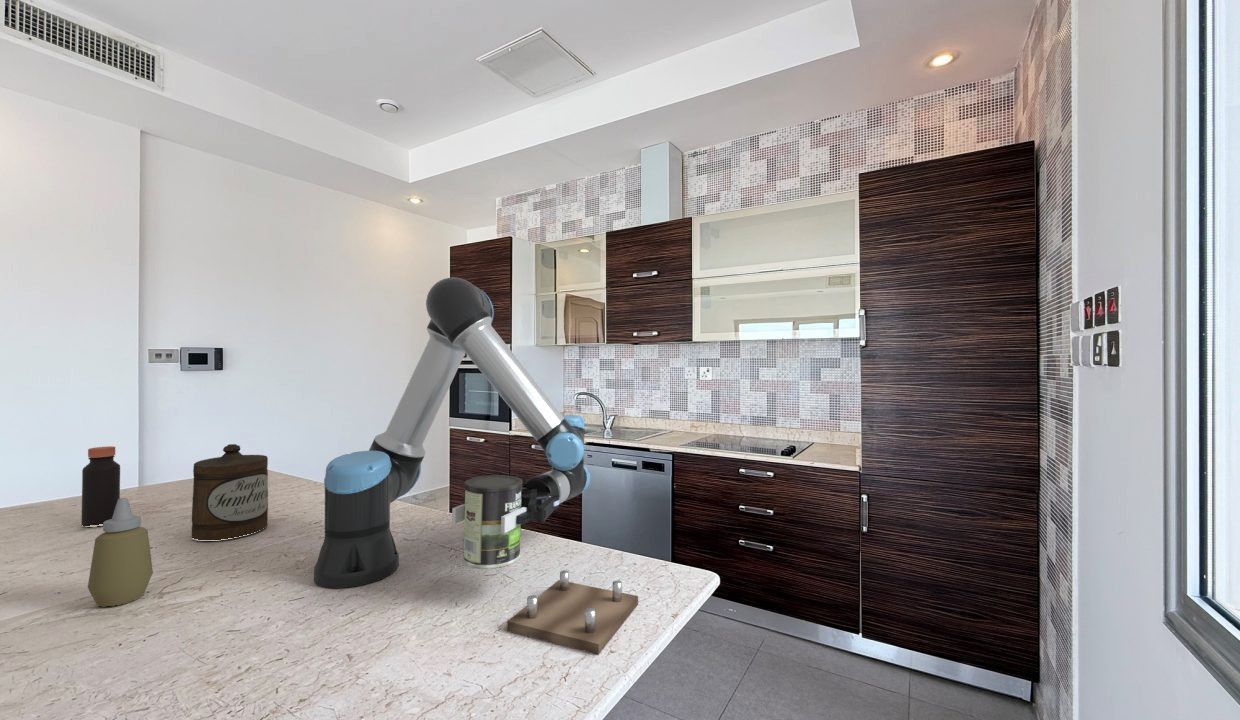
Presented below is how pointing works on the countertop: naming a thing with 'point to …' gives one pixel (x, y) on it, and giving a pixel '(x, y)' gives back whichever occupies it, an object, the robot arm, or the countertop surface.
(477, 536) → the coffee can
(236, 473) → the wooden container
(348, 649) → the countertop surface
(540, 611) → the pin nest
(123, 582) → the squeeze bottle
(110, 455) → the vinegar
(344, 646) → the countertop surface
